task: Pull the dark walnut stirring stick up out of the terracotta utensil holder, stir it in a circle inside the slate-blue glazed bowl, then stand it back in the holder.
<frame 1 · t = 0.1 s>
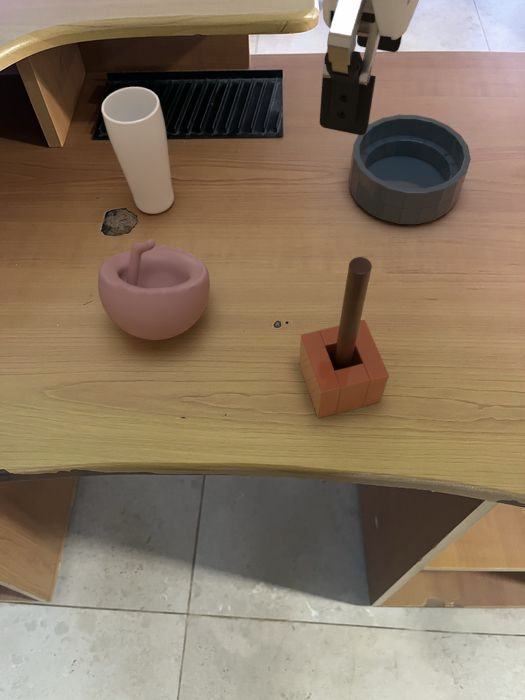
hand: (361, 85, 41), 30 cm above the table, tool pointing down, fingers open, 9 cm apart
mortar and pestle: (164, 317, 68), on the table
stirring stick: (347, 333, 54), in the holder
drinking glass: (155, 202, 78), on the table
bowl: (402, 187, 77), on the table
holder: (338, 382, 62), on the table
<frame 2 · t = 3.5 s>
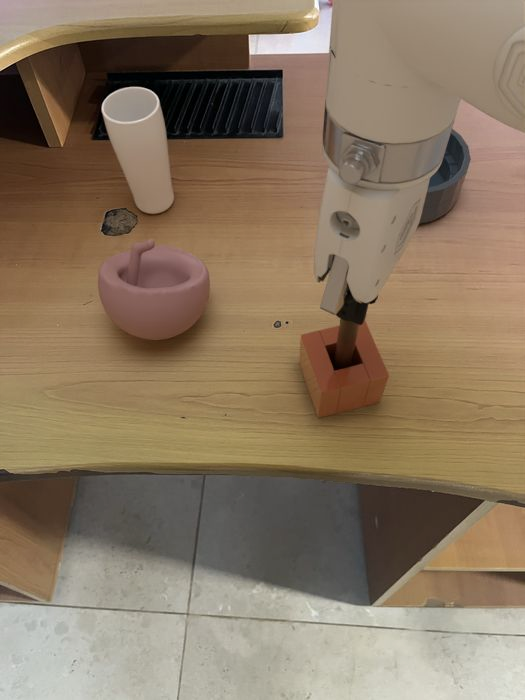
hand: (353, 305, 50), 15 cm above the table, tool pointing down, fingers closed on stirring stick, 1 cm apart
stirring stick: (347, 333, 54), in the holder, touching gripper
everything else where it was.
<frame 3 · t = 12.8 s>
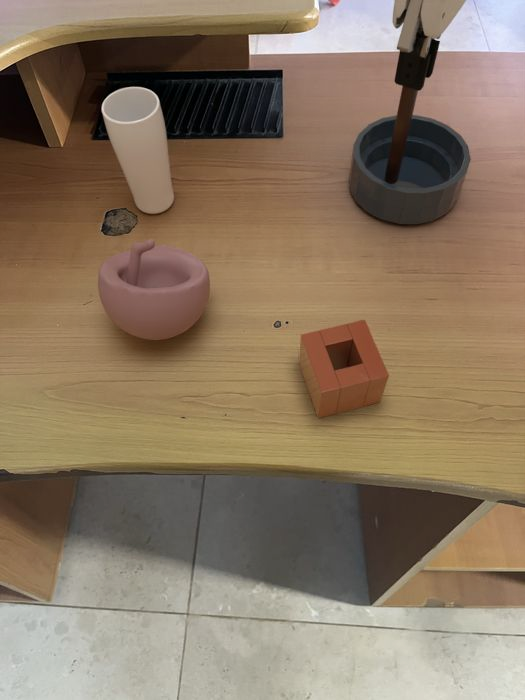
hand: (413, 78, 63), 16 cm above the table, tool pointing down, fingers closed on stirring stick, 1 cm apart
stirring stick: (404, 113, 67), point 12 cm above the table, touching gripper
everything else where it was.
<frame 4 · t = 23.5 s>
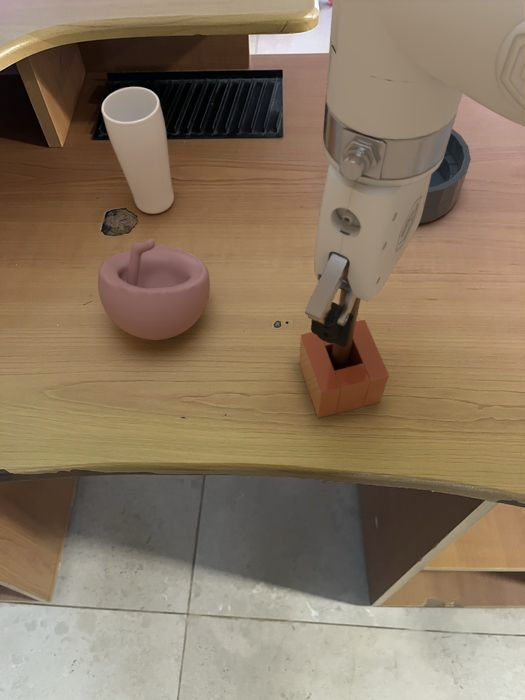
hand: (355, 295, 49), 16 cm above the table, tool pointing down, fingers open, 9 cm apart
stirring stick: (344, 331, 54), in the holder
everything else where it was.
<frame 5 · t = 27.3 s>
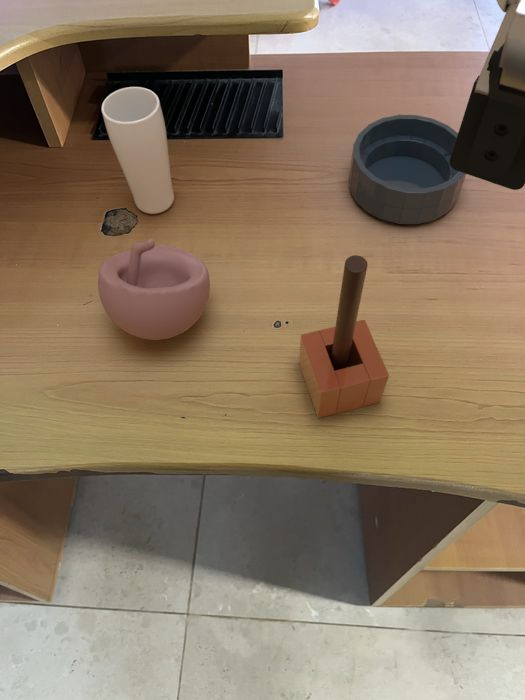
hand: (520, 110, 26), 38 cm above the table, tool pointing down, fingers open, 9 cm apart
nothing on the table moved.
at the end: stirring stick 0.4 cm off-centre in the holder, point 10.0 cm above the holder's base; stirring stick tilted 0°; stirring stick touching table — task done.
